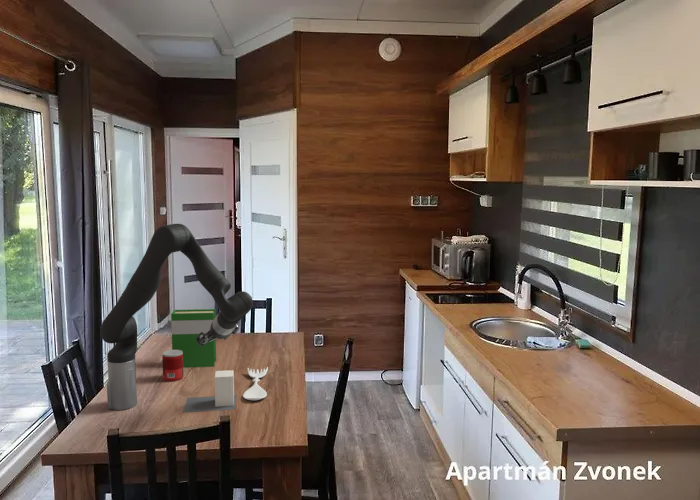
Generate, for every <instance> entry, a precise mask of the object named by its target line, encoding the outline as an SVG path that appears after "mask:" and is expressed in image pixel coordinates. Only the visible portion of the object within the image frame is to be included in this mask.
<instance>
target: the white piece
mask: <svg viewBox="0 0 700 500" xmlns="http://www.w3.org/2000/svg"><path fill="white" fill-rule="evenodd" d="M246 370H247V374H248V376H249V377H250V378H251V381H252V382H253V385H252V386H251V387H249V388H248V389H247V390H245V391H244V392H243V394H242V398H243V399H245V400H248V401H259V400H260V401H261V400H262V399H264V398H265V399H266V397H267V396H268V393H267V391H266V390H265V389H264V388H262V387H261V386H260V385H259V384H258V382H260V381H261V378H264V377H265V376H266V375H267V373H268V370H269V367H268V366H266V369H265V367H263V368H261V369H260V371H259V368H257V369H256V371H255V369H252V368H249V367H247V369H246Z"/></svg>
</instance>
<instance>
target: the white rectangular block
mask: <svg viewBox="0 0 700 500" xmlns="http://www.w3.org/2000/svg"><path fill="white" fill-rule="evenodd" d="M214 374H215V375H214V396H215V407H219V406H234V395H235V381H234V380H235V375H234V374H235V373H234V369H233V370H228V369H227V370H215V373H214Z"/></svg>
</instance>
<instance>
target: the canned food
mask: <svg viewBox="0 0 700 500" xmlns="http://www.w3.org/2000/svg"><path fill="white" fill-rule="evenodd" d="M161 354H162V355H161V356H162V378H163V380H164V381H166V382H176V381H177V382H178V381H180V380H182V379H183V378H184V368H183V351H181V350H172V349H170V350H169V349H168V350H165V351H164V352H162V353H161Z"/></svg>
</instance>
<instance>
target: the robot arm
mask: <svg viewBox="0 0 700 500" xmlns="http://www.w3.org/2000/svg"><path fill="white" fill-rule="evenodd" d="M178 252H181V253H182V254H183V255H184V256H186V258H188V260H189V261H190V262H191V265H192V267H193V270H194V273H195V276H196V279H197V280H198V281H199V284H201V285H202V287H203V288H204V289H205V290H206V291H207V293H209V295H211V297H212V300H214V301H215V304H216V305H217V308H218V310H219V313H218V314H217V315H215V319H214V320H213V322H212V324H211V326H210V330H209V331H208V332H206V333H205V334H204V333H203V332H201V333H200V334H199V335H198V336H197V338H196V340H197V342H198V345H202V346H204V345H205V344H206V343H207V342H211V341H213V340H214V339H216V340H217V339H218V340H227V338H229V337H230V336H232V335H236V334H237V332H238V330H239V326H238V324H239V322H240V321H241V319H242V318H244V317H245V316H246V315H247V314H248V313H249V312H250V311H251V310H252V308H253V306H254V300H253V298H252V297H253V296H251V294H250V293H248V292H247V291H243V290H241V291H238V292H236V293H234V294H233V295H231V296H229V297H228V298H227V297H225V295H226V294H227V293H228V292H229V291H230V289H231V287H232V283H231V282H230V281H229V280H228V279H227V278H226V276H225V275H224V274H223V273H222V272H221V271H220V270H219V269H218V268H217V266H215V265H214V263H213V262H212V261H211V260H210V259H209V256H208V255H207V254H206V253H205V251H204V249H203V248H202V247H201V245H200V243H199V242H198V240H197V239H196V238H195V236H194V235H193V232H192V231H191V230H190V229H189V228H188V227H187V225H184V224H182V223H171V224H164V225H161V226H160V227H157V229H156V230H155V231H154V233H153V234H152V237H151V239H150V242H149V245H148V246H147V248H146V251H145V253H144V255H143V257H142V259H141V260H140V262H139V264H138V266H137V268H136V269H135V271H134V273H133V274H132V275H131V278H130V279H129V280H128V281H129V282H127V284H126V287H125V289H124V290H123V291H122V294H121V295H120V297H119V298H118V300H117V301H116V303H115V305H114V306H113V308H112V309H111V311H110V312H109V313H108V314H107V316H106V317H105V318H104V320H103V321H102V323H101V325H100V329H99V330H100V332H99V333H100V337H101V339H102V340H103V342H105V343H107V344H114V346H113V347H112V348H111V349H110V350H109V351H108V352H107V355H106V356H107V357H106V358H107V360H106V361H107V379H108V381H107V383H106V392H107V393H106V394H107V396H106V397H107V409H108V410H109V409H110V410H114V411H123V410H129V409H131V408H133V407H135V406H137V405H138V392H137V390H138V389H137V368H136V367H137V366H136V353H137V349H138V323H137V321H136V319H135V317H134V315H135V314H136V313H138V312H139V311H140V310H141V309H142V308H143V307H145V306H146V305H147V304H149V302H150V301H151V300H152V298H153V297H154V296H155V294H156V293H157V290H158V289H159V287H160V285H161V283H162V271H161V269H162V266H163V265H164V264H165V262H166V261H167V258H168V257H169V256H170V255H171V254H173V253H178ZM205 338H206V339H207V340H206V339H205ZM210 338H212V339H210Z"/></svg>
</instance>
